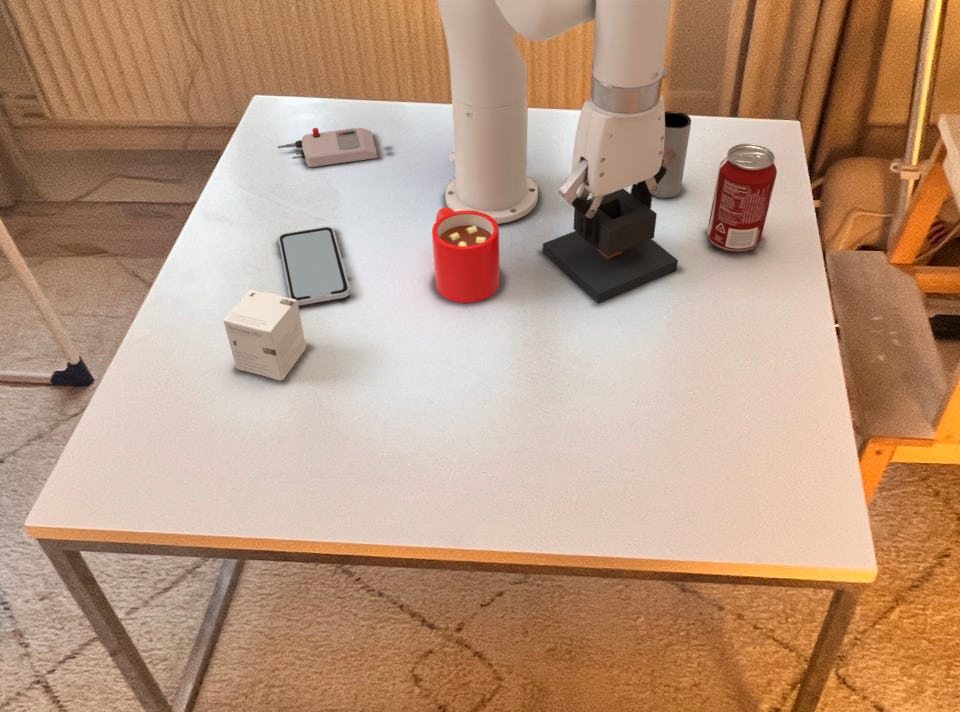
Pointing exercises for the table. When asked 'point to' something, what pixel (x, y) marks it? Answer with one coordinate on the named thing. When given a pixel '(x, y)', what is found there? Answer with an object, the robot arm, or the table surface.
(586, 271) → the base pad
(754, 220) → the soda can
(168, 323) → the table surface
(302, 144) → the handheld electronic tester
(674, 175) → the gray hollow cylinder
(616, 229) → the black square ring block
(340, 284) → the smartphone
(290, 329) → the product carton
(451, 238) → the mug
